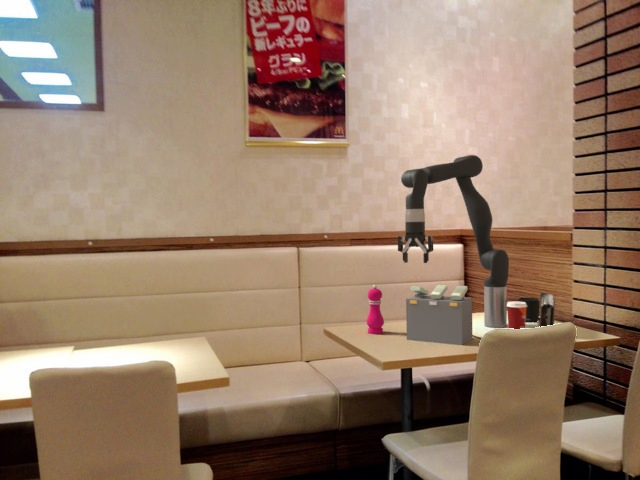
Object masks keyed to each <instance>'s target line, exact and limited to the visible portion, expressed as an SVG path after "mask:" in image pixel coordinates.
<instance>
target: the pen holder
mask: <svg viewBox="0 0 640 480" xmlns="http://www.w3.org/2000/svg"><path fill="white" fill-rule="evenodd" d="M517 301H519V302H525V303H526V305H527V307H526V323H527V322H534V323H538V322H537V321H538V318H539V317H540V306H541V300H540V299H539V298H537V297H519V298H518V299H517Z"/></svg>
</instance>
